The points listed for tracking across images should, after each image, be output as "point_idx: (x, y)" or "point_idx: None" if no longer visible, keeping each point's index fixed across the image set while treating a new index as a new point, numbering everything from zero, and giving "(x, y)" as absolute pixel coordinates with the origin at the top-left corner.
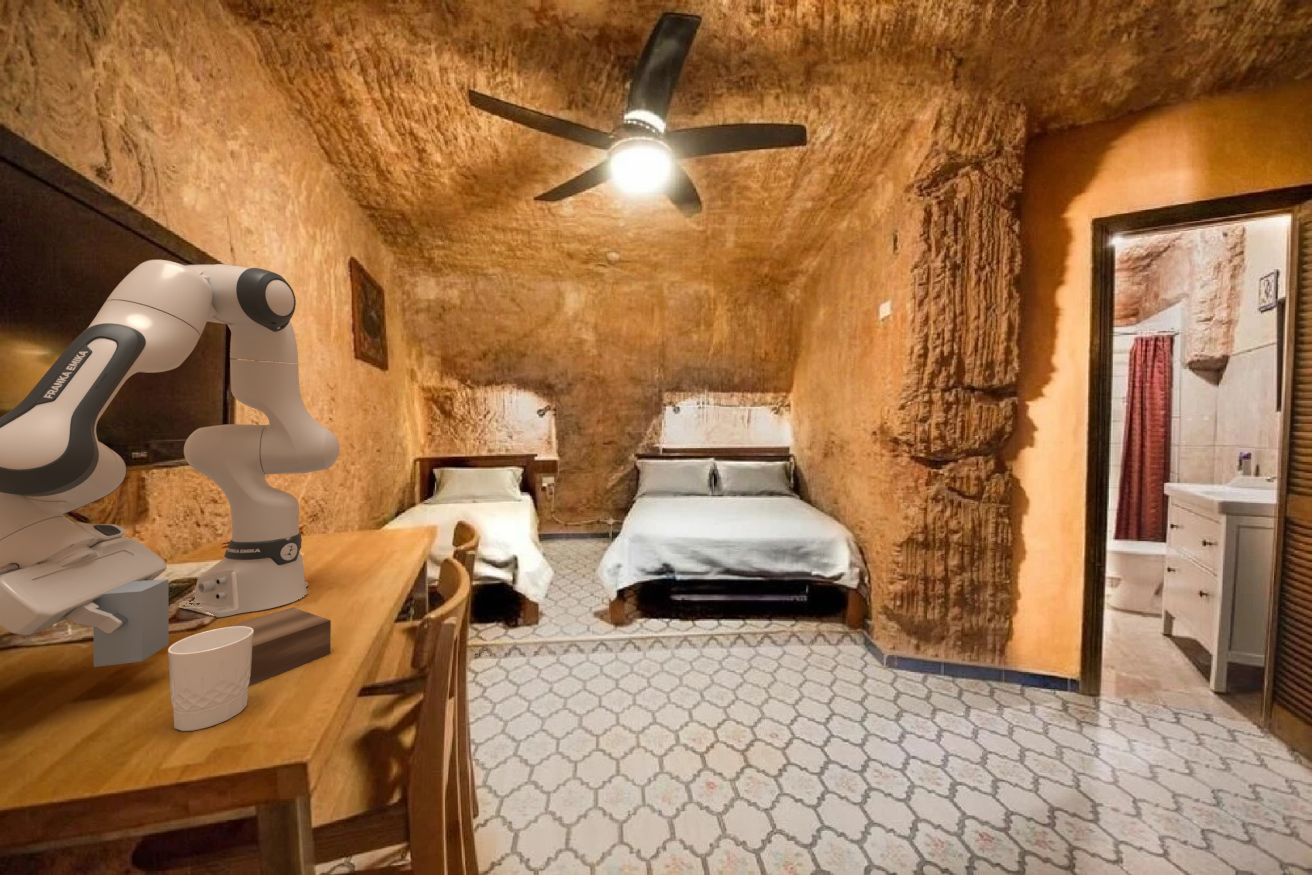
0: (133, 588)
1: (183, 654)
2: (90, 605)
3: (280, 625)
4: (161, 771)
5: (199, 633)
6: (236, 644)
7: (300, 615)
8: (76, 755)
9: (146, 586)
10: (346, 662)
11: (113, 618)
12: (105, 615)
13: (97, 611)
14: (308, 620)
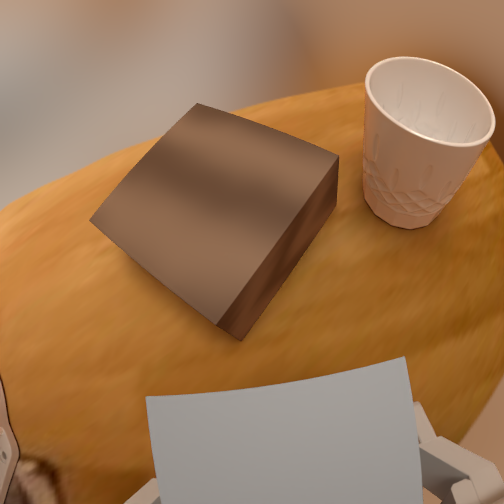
0: (335, 471)
1: (489, 103)
2: (480, 494)
3: (200, 167)
4: (492, 166)
5: (416, 132)
6: (430, 64)
7: (148, 168)
8: (493, 297)
9: (301, 420)
10: (254, 114)
11: (428, 422)
12: (448, 440)
13: (471, 458)
14: (184, 136)
